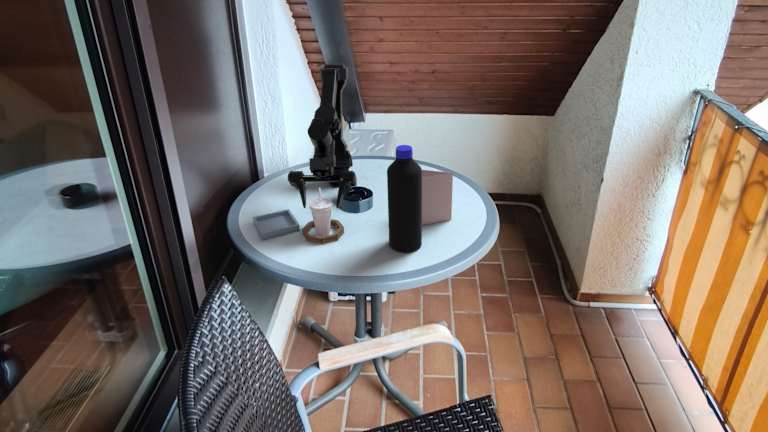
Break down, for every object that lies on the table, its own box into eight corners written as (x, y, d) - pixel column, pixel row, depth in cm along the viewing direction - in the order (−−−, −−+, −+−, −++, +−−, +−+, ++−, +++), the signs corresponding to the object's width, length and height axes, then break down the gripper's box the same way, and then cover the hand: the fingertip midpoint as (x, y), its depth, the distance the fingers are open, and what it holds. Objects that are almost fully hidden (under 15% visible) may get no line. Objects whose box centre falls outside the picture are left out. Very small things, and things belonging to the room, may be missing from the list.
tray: (289, 214, 164) (288, 209, 163) (300, 230, 155) (299, 224, 154) (253, 223, 160) (252, 217, 159) (262, 240, 151) (261, 233, 150)
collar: (335, 220, 160) (334, 215, 159) (348, 237, 151) (348, 232, 150) (299, 229, 156) (298, 223, 155) (310, 247, 147) (310, 241, 146)
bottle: (425, 238, 149) (426, 143, 136) (416, 255, 142) (416, 156, 129) (395, 234, 152) (392, 140, 139) (384, 250, 145) (381, 152, 131)
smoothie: (336, 228, 156) (332, 184, 149) (332, 239, 150) (328, 194, 144) (314, 227, 157) (310, 183, 150) (309, 239, 151) (304, 194, 144)
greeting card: (451, 218, 159) (453, 171, 152) (446, 230, 153) (448, 182, 146) (414, 213, 162) (414, 167, 155) (407, 225, 156) (407, 178, 149)
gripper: (284, 144, 147) (280, 198, 142) (353, 143, 146) (350, 198, 141) (294, 160, 158) (290, 211, 153) (357, 159, 156) (355, 211, 152)
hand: (320, 207), depth 149 cm, fingers open, 9 cm apart
